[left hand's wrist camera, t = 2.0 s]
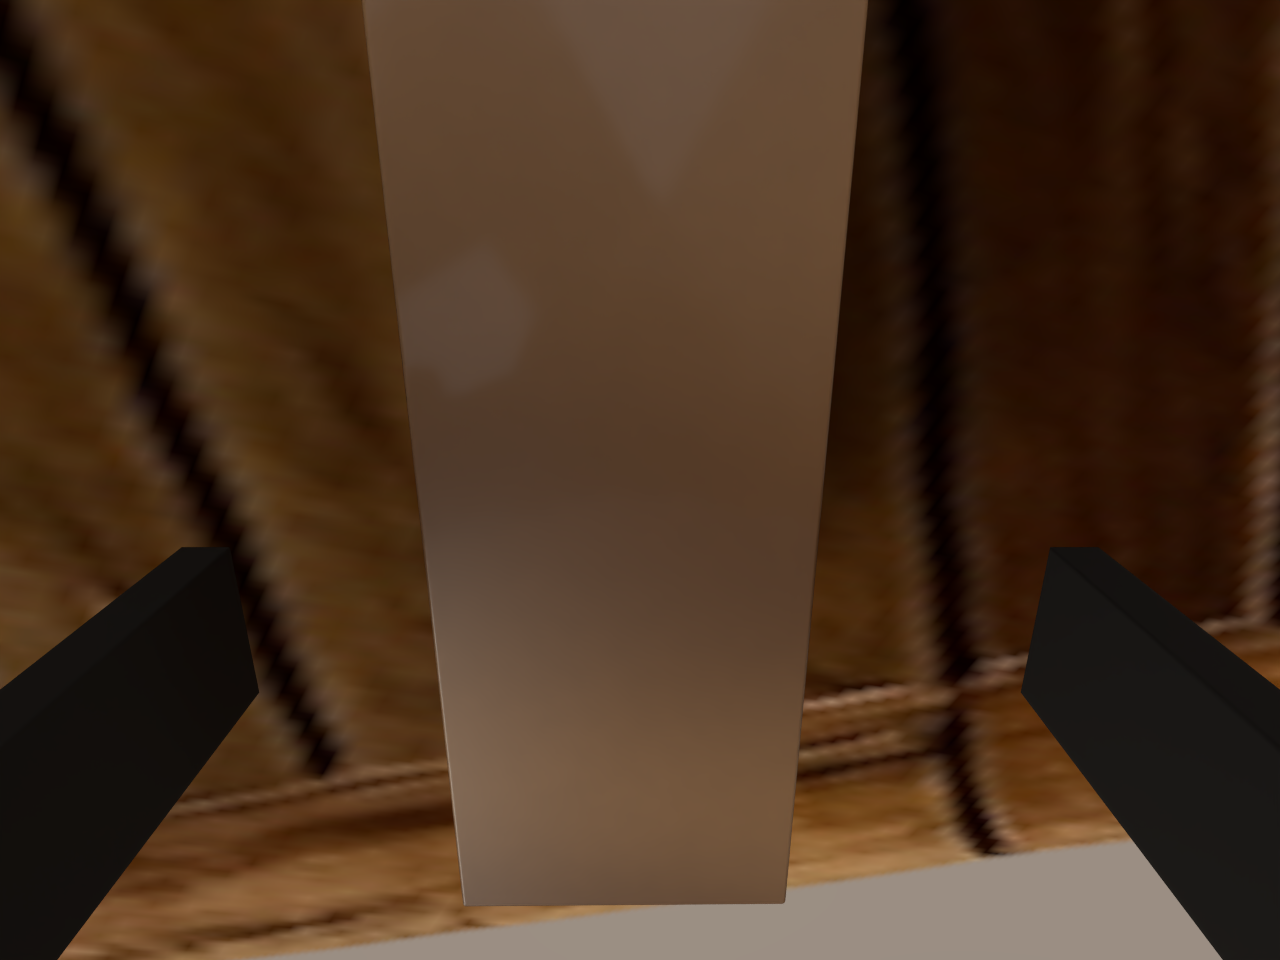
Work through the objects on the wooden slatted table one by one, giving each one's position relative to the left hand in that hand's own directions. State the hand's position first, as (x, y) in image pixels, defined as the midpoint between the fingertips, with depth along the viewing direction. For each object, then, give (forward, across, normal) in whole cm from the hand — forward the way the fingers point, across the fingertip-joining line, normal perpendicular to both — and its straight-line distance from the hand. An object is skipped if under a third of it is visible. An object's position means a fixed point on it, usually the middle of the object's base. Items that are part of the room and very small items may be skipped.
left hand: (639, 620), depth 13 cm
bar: (+6, 0, -14) cm, 15 cm away
